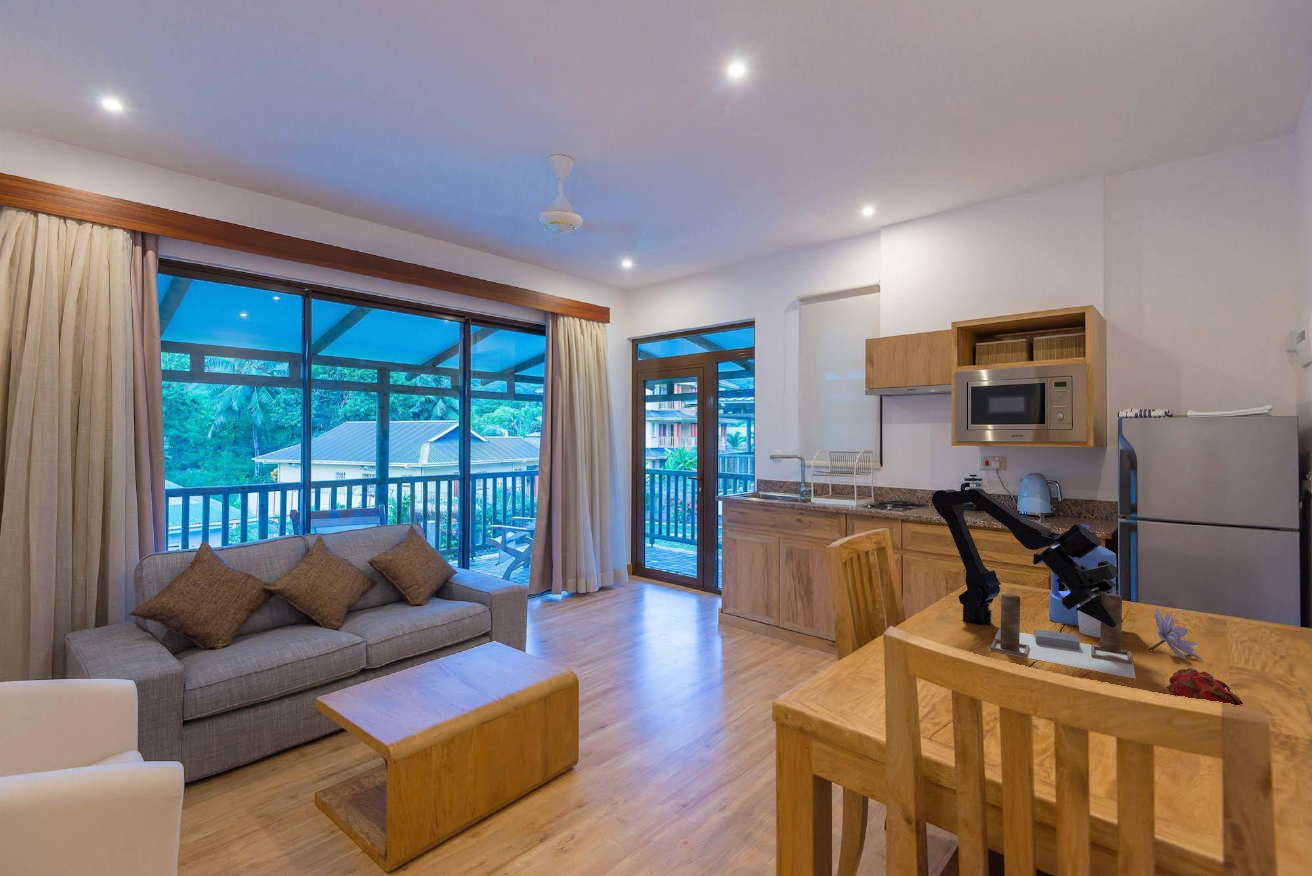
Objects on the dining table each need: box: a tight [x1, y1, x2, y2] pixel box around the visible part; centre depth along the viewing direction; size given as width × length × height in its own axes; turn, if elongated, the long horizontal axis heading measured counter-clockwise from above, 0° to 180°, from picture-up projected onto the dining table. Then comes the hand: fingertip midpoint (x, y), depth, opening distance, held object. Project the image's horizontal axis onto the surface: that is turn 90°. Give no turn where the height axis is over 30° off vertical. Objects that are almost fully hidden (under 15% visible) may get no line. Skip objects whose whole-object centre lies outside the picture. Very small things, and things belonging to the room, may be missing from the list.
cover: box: [1033, 628, 1081, 650], centre depth 152 cm, size 9×6×2 cm, turn 62°
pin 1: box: [1000, 593, 1021, 652], centre depth 148 cm, size 4×4×13 cm
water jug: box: [1048, 524, 1118, 627], centre depth 172 cm, size 16×16×28 cm
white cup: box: [1077, 604, 1101, 638], centre depth 160 cm, size 8×8×10 cm
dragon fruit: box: [1166, 667, 1247, 706], centre depth 118 cm, size 8×8×12 cm
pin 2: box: [1099, 593, 1123, 653], centre depth 144 cm, size 4×4×13 cm
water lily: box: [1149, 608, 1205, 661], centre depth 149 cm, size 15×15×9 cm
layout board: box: [989, 628, 1137, 680], centre depth 147 cm, size 28×20×2 cm
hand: (1118, 624), depth 143 cm, fingers closed on pin 2, 4 cm apart
